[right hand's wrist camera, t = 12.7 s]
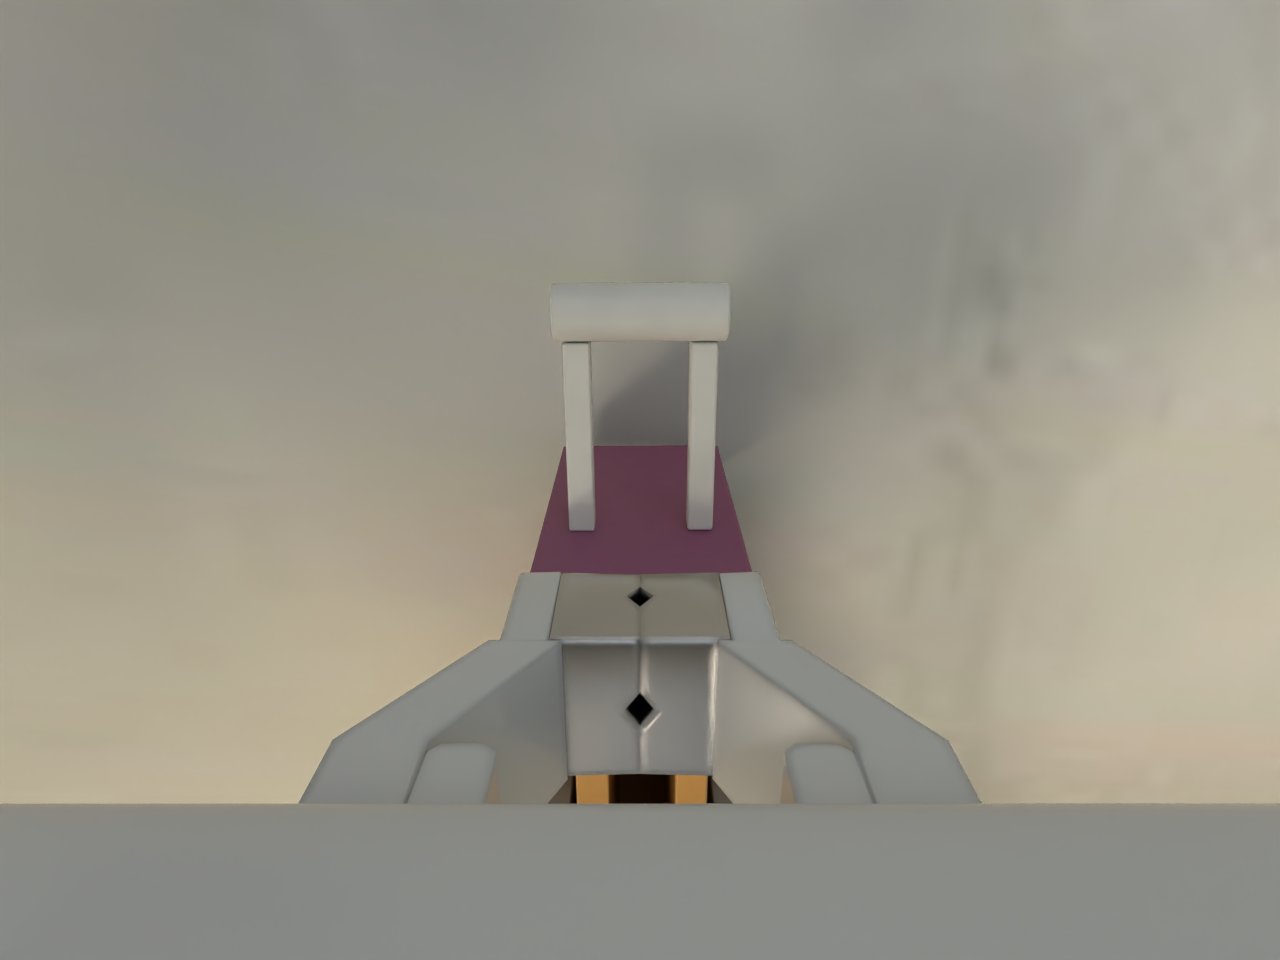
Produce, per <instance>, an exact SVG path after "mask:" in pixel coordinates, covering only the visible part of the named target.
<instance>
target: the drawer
mask: <svg viewBox="0 0 1280 960" xmlns="http://www.w3.org/2000/svg"><path fill="white" fill-rule="evenodd" d="M549 312H550V328H551V335H552V338H553V340H554V341H556V342H563V344H562V363H563V388H564V412H565V436H566V446H565V447H564V448H563V452H562V456H561V459H560V463H559V467H558V471H557V474H556V478H555V482H554V486H553V489H552V493H551V497H550V501H549V504H548V508H547V512H546V516H545V519H544V523H543V527H542V531H541V534H540V538H539V542H538V546H537V549H536V553H535V557H534V561H533V564H532V568H531V572H530V573H533V572H560V573H561V574H563V573H607V574H673V573H715V572H718V573H737V572H752V570H751V566H750V563H749V559H748V556H747V552H746V548H745V545H744V541H743V538H742V534H741V530H740V527H739V523H738V520H737V516H736V512H735V509H734V505H733V502H732V498H731V495H730V491H729V487H728V484H727V480H726V477H725V473H724V469H723V466H722V462H721V459H720V455H719V451H718V448H717V446H715V437H716V408H717V378H718V348H719V346H718V343H717V341H725V340H727V338H728V336H729V331H730V319H731V297H730V288H729V285H728V284H727V283H554V284H552V286H551V289H550V301H549ZM623 341H690V351H689V402H688V446H594V441H593V404H592V368H591V342H623ZM707 783H708V776H703V775H666V774H612V775H576V790H577V804H707Z"/></svg>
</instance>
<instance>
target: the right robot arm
mask: <svg viewBox="0 0 1280 960" xmlns="http://www.w3.org/2000/svg"><path fill="white" fill-rule="evenodd" d="M612 774H666V775H703V776H713V780H714V781H715V782H716V784H717V785H718V786H719V787H720V788H721V790H722V791H723V792H724V793H725V794H726V796H727V797H728V798H729V799H730V801H731V802H732V803H733V804H548V802H549V801H550V800H551V799H552V798H553V796H554V795H555V794H556V793H557V792H558V790H559V789H560V788H561V787H562V786H563V784H564V783H565V782H566V781H567V776H576V775H612ZM0 960H1280V804H982V803H981V801H980V799H979V798H978V796H977V794H976V792H975V790H974V788H973V786H972V784H971V783H970V781H969V779H968V777H967V775H966V773H965V771H964V769H963V768H962V766H961V764H960V762H959V760H958V758H957V756H956V754H955V753H954V751H953V749H952V747H951V745H950V743H949V741H948V740H946V739H945V738H943V737H941V736H940V735H938V734H937V733H935V732H934V731H932V730H930V729H929V728H927V727H926V726H924V725H923V724H921V723H920V722H918V721H916V720H915V719H913V718H912V717H910V716H909V715H907V714H906V713H904V712H902V711H901V710H899V709H898V708H896V707H895V706H893V705H891V704H890V703H888V702H887V701H885V700H884V699H882V698H881V697H879V696H877V695H876V694H874V693H873V692H871V691H870V690H868V689H866V688H865V687H863V686H862V685H860V684H859V683H857V682H856V681H854V680H852V679H851V678H849V677H848V676H846V675H845V674H843V673H842V672H840V671H838V670H837V669H835V668H834V667H832V666H831V665H829V664H827V663H826V662H824V661H823V660H821V659H820V658H818V657H817V656H815V655H813V654H812V653H810V652H809V651H807V650H806V649H804V648H803V647H801V646H799V645H798V644H796V643H795V642H793V641H792V640H780V639H779V635H778V632H777V629H776V625H775V622H774V619H773V615H772V612H771V609H770V605H769V602H768V599H767V595H766V592H765V589H764V585H763V582H762V579H761V576H760V574H759V573H757V572H737V573H718V572H715V573H673V574H607V573H563V574H561V573H560V572H533V573H522V574H521V575H520V576H519V578H518V581H517V585H516V588H515V591H514V595H513V598H512V601H511V605H510V608H509V612H508V615H507V618H506V622H505V625H504V628H503V632H502V635H501V638H500V640H488V641H487V642H485V643H484V644H482V645H481V646H479V647H477V648H476V649H474V650H473V651H471V652H470V653H468V654H466V655H465V656H463V657H462V658H460V659H459V660H457V661H455V662H454V663H452V664H451V665H449V666H448V667H446V668H445V669H443V670H441V671H440V672H438V673H437V674H435V675H434V676H432V677H430V678H429V679H427V680H426V681H424V682H423V683H421V684H419V685H418V686H416V687H415V688H413V689H412V690H410V691H408V692H407V693H405V694H404V695H402V696H401V697H399V698H397V699H396V700H394V701H393V702H391V703H390V704H388V705H387V706H385V707H383V708H382V709H380V710H379V711H377V712H376V713H374V714H372V715H371V716H369V717H368V718H366V719H365V720H363V721H361V722H360V723H358V724H357V725H355V726H354V727H352V728H350V729H349V730H347V731H346V732H344V733H343V734H341V735H340V736H338V737H336V738H335V739H333V740H332V742H331V744H330V746H329V748H328V750H327V751H326V753H325V755H324V757H323V759H322V761H321V762H320V764H319V766H318V768H317V770H316V772H315V774H314V775H313V777H312V779H311V781H310V783H309V785H308V787H307V788H306V790H305V792H304V794H303V796H302V798H301V800H300V801H299V803H298V804H0Z"/></svg>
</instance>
